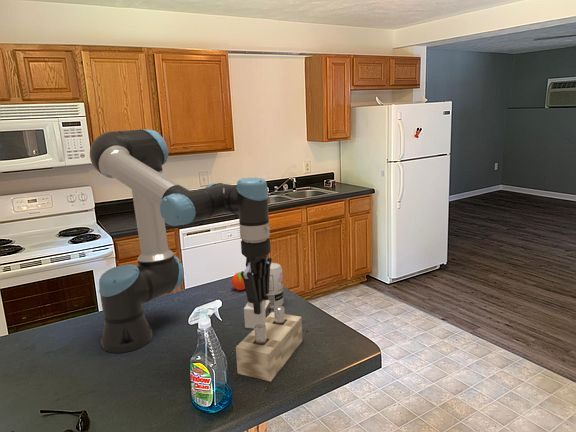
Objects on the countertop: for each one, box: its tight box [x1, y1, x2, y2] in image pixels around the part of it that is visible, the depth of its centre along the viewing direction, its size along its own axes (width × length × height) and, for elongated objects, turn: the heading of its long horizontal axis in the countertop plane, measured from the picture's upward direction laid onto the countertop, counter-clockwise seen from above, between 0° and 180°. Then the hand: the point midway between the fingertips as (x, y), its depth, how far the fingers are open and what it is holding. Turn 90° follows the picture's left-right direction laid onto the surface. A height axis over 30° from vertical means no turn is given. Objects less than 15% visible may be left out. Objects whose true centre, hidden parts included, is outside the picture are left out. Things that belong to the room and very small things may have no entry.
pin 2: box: [273, 305, 286, 325], centre depth 127 cm, size 3×3×8 cm
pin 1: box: [255, 324, 267, 346], centre depth 117 cm, size 3×3×8 cm
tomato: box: [231, 271, 245, 291], centre depth 171 cm, size 8×7×7 cm
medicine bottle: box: [243, 299, 271, 330], centre depth 142 cm, size 7×7×12 cm
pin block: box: [235, 311, 303, 382], centre depth 123 cm, size 10×22×8 cm, turn 156°
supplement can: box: [266, 262, 285, 310], centre depth 156 cm, size 8×8×15 cm
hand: (260, 322), depth 115 cm, fingers closed
